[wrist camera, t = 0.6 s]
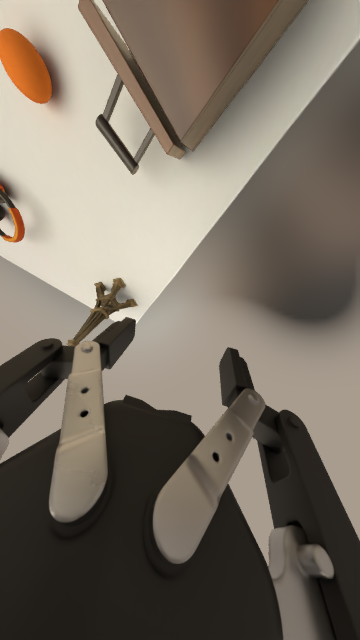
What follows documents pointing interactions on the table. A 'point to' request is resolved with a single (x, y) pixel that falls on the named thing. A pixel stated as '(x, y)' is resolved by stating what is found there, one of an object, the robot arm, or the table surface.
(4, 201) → the headphones
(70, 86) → the table surface
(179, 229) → the table surface
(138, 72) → the drawer
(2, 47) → the ball
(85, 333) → the eiffel tower
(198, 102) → the cabinet
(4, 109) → the table surface
